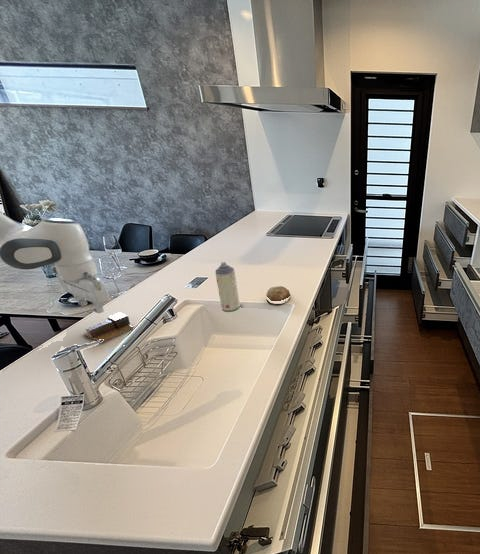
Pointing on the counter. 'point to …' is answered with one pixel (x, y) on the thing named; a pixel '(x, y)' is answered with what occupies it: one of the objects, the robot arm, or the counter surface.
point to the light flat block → (112, 333)
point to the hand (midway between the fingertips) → (91, 308)
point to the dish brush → (108, 325)
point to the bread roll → (278, 293)
